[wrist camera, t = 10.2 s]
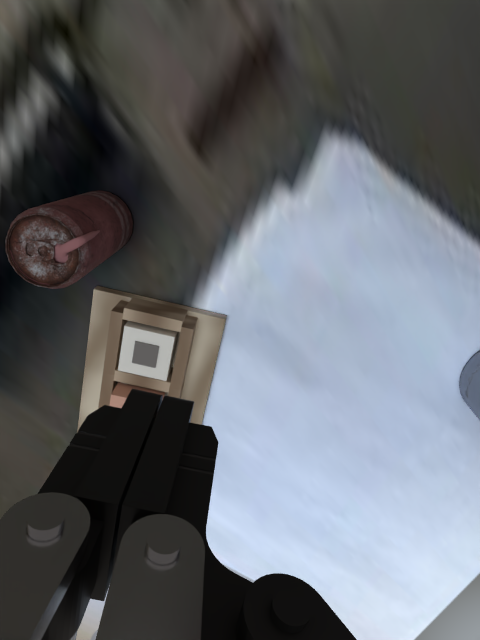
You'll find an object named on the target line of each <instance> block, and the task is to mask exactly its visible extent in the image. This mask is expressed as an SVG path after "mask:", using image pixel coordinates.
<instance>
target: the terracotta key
mask: <svg viewBox="0 0 480 640" xmlns="http://www.w3.org/2000/svg"><path fill="white" fill-rule="evenodd" d="M132 389H136V390H141V391H146V392H151V393H156V394H160V395H163V398H164V396H165V393H164V392H160V391H155V390H151V389H146V388H142V387H137V386H133V385H128V384H124V383H119V382H118V384H117V385H116V387H115V389H114V390H113V392H112V394H111V398H110V405H109V406H113V407H117V408H122V406H123V404H124V402H125V401H126V399H127V397H128V395H129V393H130V391H131V390H132ZM162 400H163V399H162Z"/></svg>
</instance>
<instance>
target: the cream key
mask: <svg viewBox="0 0 480 640" xmlns="http://www.w3.org/2000/svg"><path fill="white" fill-rule="evenodd" d="M177 336H178V332H177V331H172V330H168V329H164V328H159V327H155V326H150V325H146V324H142V323H137V322H133V321H128V322H127V323H126V324H125V326H124V332H123V338H122V345H121V352H120V359H119V366H118V371H123V372H127V373H132V374H136V375H141V376H145V377H150V378H154V379H159V380H163V381H167V378H168V376H169V373H170V371H171V367H172V362H173V356H174V351H175V346H176V341H177Z"/></svg>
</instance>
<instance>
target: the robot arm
mask: <svg viewBox="0 0 480 640" xmlns="http://www.w3.org/2000/svg"><path fill="white" fill-rule="evenodd" d="M460 392H461V395H462V397H463V400H464V401H465V402H466V404H467V405H468V406H469V407H470V409H471V410H472V411H473V413H474V414H475V415H476V417H477V418H478V419H479V420H480V351H479V352H478V353H477V354H475V355H474V356H473V357H472V358H471V359H470V360H469V362H468V363H467V364H466V366H465V368H464V369H463V371H462V374H461V377H460ZM162 399H163V400H162ZM193 407H194V401H190V400H185V399H180V398H175V397H170V396H166V395H165V396H164V398H163V395H160V394H156V393H151V392H146V391H141V390H136V389H132V390H131V391H130V393H129V395H128V397H127V399H126V401H125V402H124V404H123V406H122V408H117V407H113V406H108V405H103V406H102V407H100V408H99V409H97V410H95V411H94V412H92V413H91V414H89V415H88V416H87V417H86V419H85V420H84V422H83V423H82V425H81V427H80V428H79V430H78V433H76V434H75V436H74V438H73V439H72V441H71V442H70V445H69V446H68V447H67V449H66V450H65V452H64V453H63V455H62V456H61V458H60V460H59V461H58V463H57V464H56V466H55V467H54V469H53V471H52V472H51V474H50V475H49V477H48V478H47V480H46V482H45V483H44V485H43V486H42V488H41V489H40V491H39V492H38V494H36V495H33V496H29V497H27V498H25V499H22V500H21V501H19V502H17V503H16V504H14V505H13V506H12V507H11V508H10V509H9V510H8V511H7V512H6V513H5V514H4V515H3V516H2V518H1V519H0V640H76V635H77V630H78V628H79V626H80V624H81V621H82V618H83V616H84V613H85V611H86V608H87V605H88V603H89V600H90V599H95V600H101V601H104V599H105V596H106V593H107V591H108V594H107V597H106V601H105V605H104V609H103V613H102V617H101V621H100V625H99V629H98V633H97V636H96V640H356V638H355V637H354V636H353V635H352V633H351V632H350V631H349V630H348V629H347V627H346V626H345V625H344V624H343V623H342V621H341V620H340V619H339V618H338V616H337V615H336V614H335V613H334V612H333V610H332V609H331V608H330V607H329V605H328V604H327V603H326V602H325V601H324V599H323V598H322V597H321V596H320V595H319V594H318V592H317V591H316V590H315V589H314V588H312V587H311V586H310V585H309V584H307V583H306V582H304V581H303V580H301V579H298V578H296V577H294V576H291V575H287V574H269V575H265V576H263V577H260V578H259V579H257V580H256V581H255V582H254V583H252V582H250V581H249V580H247V579H245V578H243V577H241V576H239V575H237V574H235V573H234V572H232V571H230V570H229V569H227V568H226V567H225V566H224V565H222V564H221V563H220V562H219V561H218V560H217V559H216V557H215V556H214V554H213V553H212V551H211V550H210V548H209V545H208V542H207V539H206V524H207V517H208V510H209V503H210V496H211V489H212V482H213V474H214V469H215V461H216V455H217V448H218V441H217V438H216V436H215V434H214V431H213V429H212V427H210V426H205V425H200V424H195V423H190V421H191V416H192V412H193ZM109 585H110V586H109ZM108 588H109V590H108Z"/></svg>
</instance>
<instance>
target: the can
mask: <svg viewBox="0 0 480 640" xmlns="http://www.w3.org/2000/svg"><path fill="white" fill-rule="evenodd" d="M132 230H133V220H132V216H131V213H130V211H129V209H128V207H127V205H126V204H125V203H124V202H123V201H122V200H121V199H120V198H119V197H118V196H116V195H114V194H112V193H110V192H106V191H100V190H98V191H92V192H87V193H84V194H80V195H77V196H73V197H70V198H66V199H62V200H59V201H55V202H52V203H48V204H45V205H41V206H37V207H34V208H30V209H28V210H26V211H24V212H23V213H21V214H19V215H18V216H17V217H16V219H15V220H14V221H13V222H12V223H11V225H10V228H9V231H8V234H7V237H6V253H7V256H8V259H9V262H10V264H11V265H12V267H13V268H14V270H15V271H16V273H17V274H19V275H20V276H21V277H22V278H23V279H24V280H26V281H27V282H29V283H32V284H34V285H36V286H40V287H46V288H51V289H57V288H64V287H67V286H69V285H71V284H73V283H75V282H77V281H78V280H79V279H81V278H82V277H83V276H85V275H86V274H87V273H89V272H90V271H91V270H93V269H94V268H95V267H97V266H98V265H100V264H101V263H102V262H104V261H105V260H106V259H108V258H109V257H110V256H112V255H113V254H114V253H116V252H117V251H118V250H120V249H121V248H122V247H123V246H124V245H125V244H126V243H127V242H128V241H129V239H130V236H131V234H132Z"/></svg>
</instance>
